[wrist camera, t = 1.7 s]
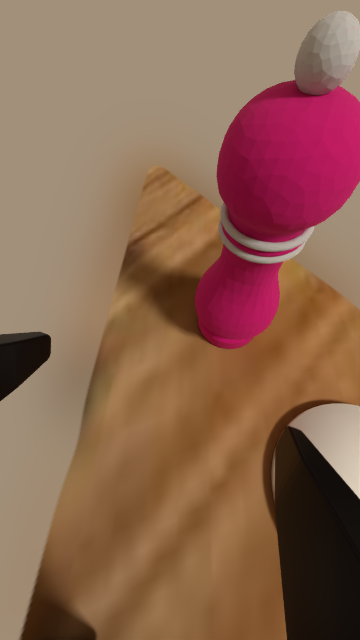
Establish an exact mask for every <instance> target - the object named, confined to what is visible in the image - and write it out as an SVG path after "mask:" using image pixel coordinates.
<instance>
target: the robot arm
mask: <svg viewBox="0 0 360 640" xmlns="http://www.w3.org/2000/svg"><path fill="white" fill-rule="evenodd" d="M50 353H51V338H50V336H49V335H47V334H45V333H42V332H30V333H16V334H2V335H0V401H1V400H2V399H4V398H5V397H6V396H7V395H9V394H10V393H11V392H13V391H14V390H15V389H16V388H17V387H19V385H21V384H22V383H23V382H24V381H25V380H26V379H27V378H28V377H29V376H31V375H32V374H33V373H34V372H35V371H36V370H37V369H38V368H39V367H40V366H41V365H42V364H43V363H44V362H46V361H47V360H48V358H49V357H50ZM275 513H276V524H277V534H278V545H279V556H280V567H281V578H282V589H283V600H284V611H285V622H286V632H287V640H360V499H359V497H358V496H357V495H356V494H355V493H354V491H353V490H352V489H351V488H350V487H349V486H348V484H347V483H346V482H345V481H344V480H343V479H342V477H341V476H340V475H339V474H338V473H337V472H336V470H335V469H334V468H333V467H332V466H331V465H330V463H329V462H328V461H327V460H326V459H325V458H324V456H323V455H322V454H321V453H320V452H319V450H318V449H317V448H316V447H315V446H314V445H313V443H312V442H311V441H310V440H309V439H308V438H307V436H306V435H305V434H304V433H303V432H302V431H301V430H299V429H297V428H294V427H291V426H287V427H286V428H285V429H284V431H283V433H282V435H281V437H280V438H279V440H278V442H277V445H276V449H275Z"/></svg>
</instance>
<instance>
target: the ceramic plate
mask: <svg viewBox="0 0 360 640" xmlns="http://www.w3.org/2000/svg"><path fill="white" fill-rule="evenodd" d="M287 426H291V427H294V428H297V429H299V430H301V431H302V432H303V433H304V434H305V435H306V436H307V438H308V439H309V440H310V441H311V442H312V443H313V445H314V446H315V447H316V448H317V449H318V450H319V452H320V453H321V454H322V455H323V456H324V458H325V459H326V460H327V461H328V462H329V463H330V465H331V466H332V467H333V468H334V469H335V470H336V472H337V473H338V474H339V475H340V476H341V477H342V479H343V480H344V481H345V482H346V483H347V484H348V486H349V487H350V488H351V489H352V490H353V491H354V493H355V494H356V495H357V496H358V497H359V499H360V406H356V405H351V404H342V403H333V404H325V405H320V406H316V407H312V408H310V409H308V410H305V411H303V412H302V413H300V414H299V415H297V416H296V417H295V418H294V419H292V420H291V421H290V422H289V423H288V425H287ZM287 426H286V427H287ZM286 427H285V428H286ZM283 431H284V430H283ZM282 433H283V432H282ZM282 433H281V435H282ZM281 435H280V437H281ZM280 437H279V438H280ZM278 440H279V439H278ZM276 445H277V444H276ZM275 449H276V447H275ZM271 484H272V492H273V498H274V503H275V450H274V455H273V459H272V469H271Z"/></svg>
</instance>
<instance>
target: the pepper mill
mask: <svg viewBox="0 0 360 640" xmlns="http://www.w3.org/2000/svg"><path fill="white" fill-rule="evenodd" d="M359 50H360V25H359V21H358V20H357V19H356V18H355V17H354V16H353V15H352V14H351V13H350V12H346V11H336V12H333V13H331V14H329V15H327V16H326V17H324V18H323V19H321V20H319V21H318V22H317V23H316V24H315V25H314V27H313V28H312V29H311V30H310V31H309V32H308V34H307V36H306V37H305V39H304V41H303V42H302V44H301V47H300V49H299V52H298V55H297V58H296V63H295V71H294V73H295V80H293V81H288V82H282V83H279V84H277V85H275V86H272V87H270V88H267V89H266V90H264V91H263V92H261V93H260V94H258V95H257V96H255V97H254V98H253V99H251V100H250V101H249V102H248V103H247V104H246V105H245V106H244V107H243V108H242V109H241V110H240V112H239V113H238V114H237V116H236V117H235V119H234V120H233V122H232V123H231V125H230V126H229V128H228V131H227V133H226V135H225V137H224V141H223V143H222V147H221V150H220V153H219V158H218V165H217V182H218V189H219V194H220V196H221V198H222V200H223V201H224V203H223V205H222V208H221V213H220V214H221V219H220V221H219V229H218V230H219V235H220V238H221V240H222V242H223V249H222V253H221V256H220V258H219V259H218V260H217V261H216V262H215V263H214V264H213V265H212V266H211V267H210V268H209V269H208V270H207V271H206V272H205V274H204V275H203V277H202V278H201V280H200V282H199V284H198V286H197V290H196V295H195V308H196V312H197V315H198V325H199V329H200V331H201V333H202V335H203V336H204V337H205V338H206V339H207V340H208V341H209V342H210V343H212V344H214V345H215V346H218V347H220V348H226V349H235V348H239V347H242V346H244V345H246V344H247V343H249V342H250V341H251V340H252V339H253V337H254V336H256V335H258V334H260V333H262V332H263V331H264V330H265V329H266V328H267V327H268V326H269V325H270V323H271V322H272V320H273V318H274V316H275V314H276V312H277V309H278V305H279V295H280V291H279V282H278V272H279V269H280V267H281V265H282V263H283V262H284V261H286V260H288V259H291V258H292V257H294V256H295V255H297V254H298V253H299V252H300V251H301V250H302V248H303V247H304V245H305V242H306V240H307V239H308V238H309V237H310V236H311V234H312V232H313V230H314V226H315V225H317V224H319V223H321V222H323V221H325V220H326V219H327V218H328V217H330V216H331V215H332V214H334V213H335V212H336V211H337V210H339V209H340V208H341V207H342V206H343V204H344V203H345V202H346V201H347V199H348V198H349V197H350V196H351V194H352V193H353V191H354V189H355V188H356V186H357V184H358V183H359V181H360V102H359V101H358V99H357V98H356V97H355V96H353V95H352V94H351V93H349V92H348V91H346V90H345V89H343V88H342V87H340V86H339V85H340V84H341V83H342V82H343V80H344V79H345V78H346V77H347V75H348V74H349V73H350V71H351V70H352V68H353V66H354V64H355V62H356V59H357V56H358V53H359Z"/></svg>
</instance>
